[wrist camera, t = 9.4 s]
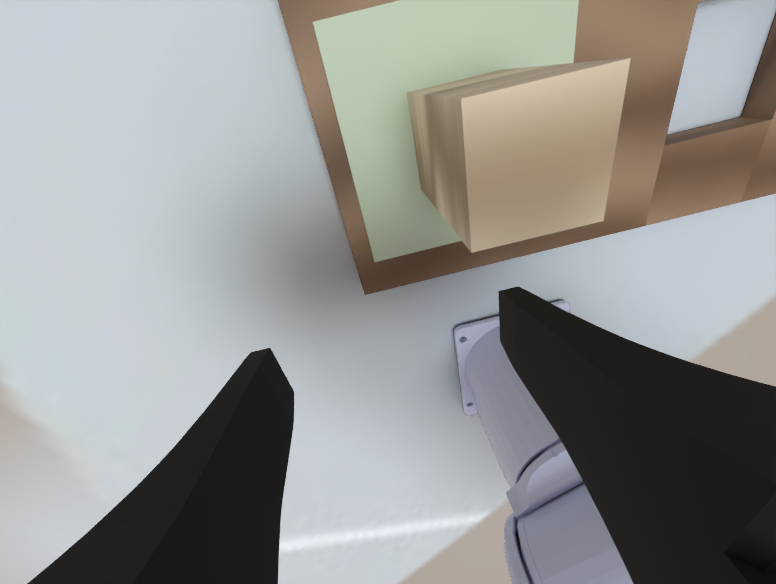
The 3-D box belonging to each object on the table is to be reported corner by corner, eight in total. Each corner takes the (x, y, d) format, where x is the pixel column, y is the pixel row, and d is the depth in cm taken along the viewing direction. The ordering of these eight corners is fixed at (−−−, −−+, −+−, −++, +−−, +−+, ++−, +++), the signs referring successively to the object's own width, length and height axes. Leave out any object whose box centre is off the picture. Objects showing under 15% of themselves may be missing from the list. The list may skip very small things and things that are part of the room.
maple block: (503, 169, 16) (603, 221, 10) (421, 189, 16) (471, 252, 10) (502, 69, 13) (630, 57, 8) (406, 92, 13) (461, 98, 8)
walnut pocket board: (783, 177, 20) (813, 184, 19) (363, 281, 20) (364, 294, 19) (950, -200, 12) (1020, -232, 11) (272, -32, 12) (264, -45, 11)
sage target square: (557, 214, 18) (560, 216, 17) (374, 259, 18) (374, 262, 17) (577, -43, 12) (582, -46, 12) (313, 22, 12) (312, 21, 12)
